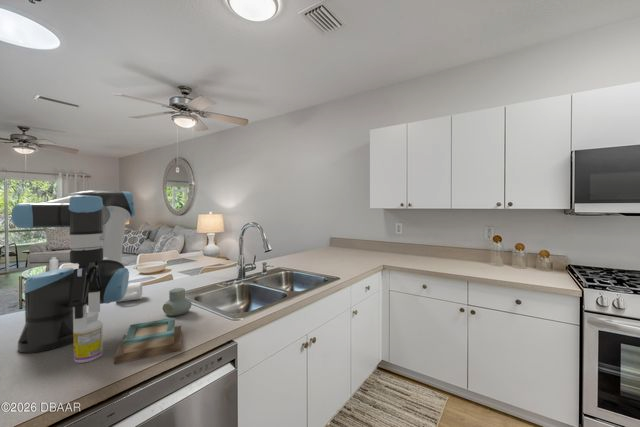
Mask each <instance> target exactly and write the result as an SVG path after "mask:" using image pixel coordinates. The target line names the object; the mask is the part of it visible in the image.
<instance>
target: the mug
mask: <svg viewBox="0 0 640 427" xmlns="http://www.w3.org/2000/svg"><path fill="white" fill-rule="evenodd" d="M142 297H143V283H142V282H132V283H128V287H127V291H126V294H125V296H124V297H123V298H122V299H121V300H120V301H116V302H115V303H122V302H129V301H136V300H142Z"/></svg>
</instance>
